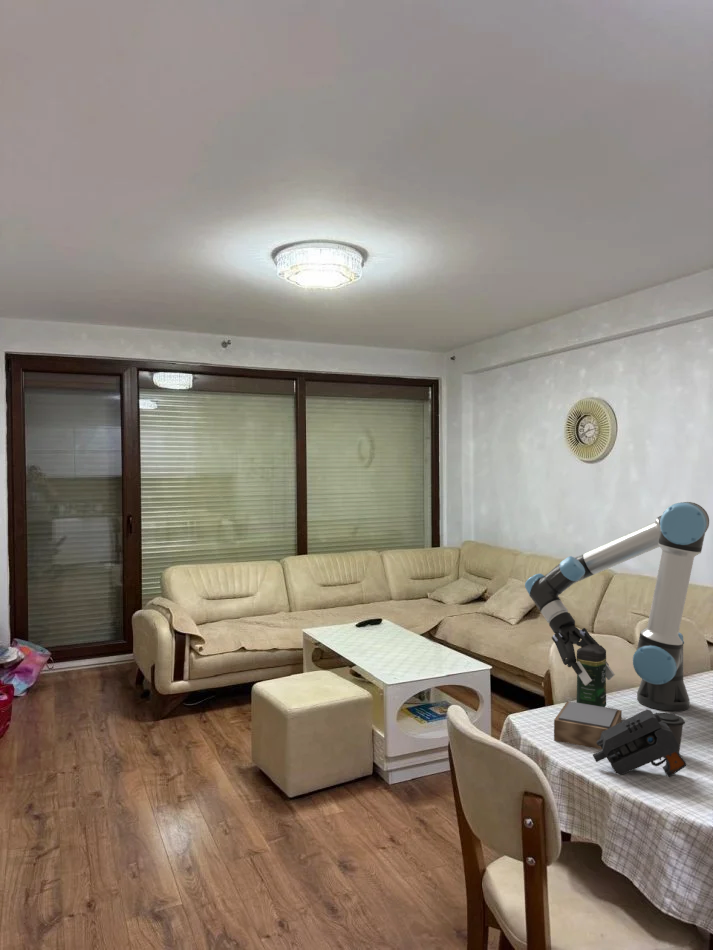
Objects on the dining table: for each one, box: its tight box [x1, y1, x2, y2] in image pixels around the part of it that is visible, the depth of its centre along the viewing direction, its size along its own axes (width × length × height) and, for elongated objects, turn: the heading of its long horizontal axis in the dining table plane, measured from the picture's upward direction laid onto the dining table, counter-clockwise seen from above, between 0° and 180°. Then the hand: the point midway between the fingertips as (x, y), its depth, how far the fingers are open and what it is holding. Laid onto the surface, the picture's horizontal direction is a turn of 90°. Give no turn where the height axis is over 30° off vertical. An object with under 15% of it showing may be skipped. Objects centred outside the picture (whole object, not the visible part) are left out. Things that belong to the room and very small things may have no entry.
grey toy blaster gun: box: [592, 708, 687, 778], centre depth 159 cm, size 6×19×15 cm, turn 78°
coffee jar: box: [575, 644, 607, 707], centre depth 198 cm, size 10×8×19 cm
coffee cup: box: [656, 712, 686, 754], centre depth 169 cm, size 8×8×10 cm
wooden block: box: [553, 701, 623, 751], centre depth 182 cm, size 15×17×6 cm
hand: (600, 680), depth 196 cm, fingers closed on coffee jar, 10 cm apart
